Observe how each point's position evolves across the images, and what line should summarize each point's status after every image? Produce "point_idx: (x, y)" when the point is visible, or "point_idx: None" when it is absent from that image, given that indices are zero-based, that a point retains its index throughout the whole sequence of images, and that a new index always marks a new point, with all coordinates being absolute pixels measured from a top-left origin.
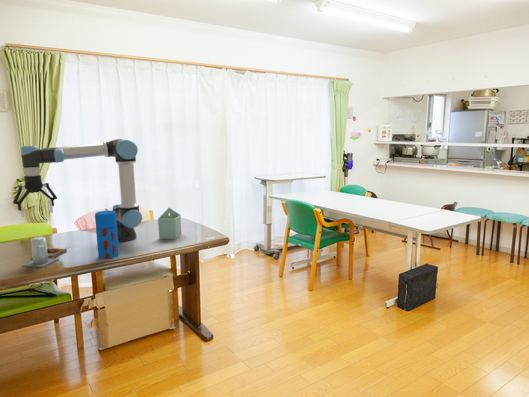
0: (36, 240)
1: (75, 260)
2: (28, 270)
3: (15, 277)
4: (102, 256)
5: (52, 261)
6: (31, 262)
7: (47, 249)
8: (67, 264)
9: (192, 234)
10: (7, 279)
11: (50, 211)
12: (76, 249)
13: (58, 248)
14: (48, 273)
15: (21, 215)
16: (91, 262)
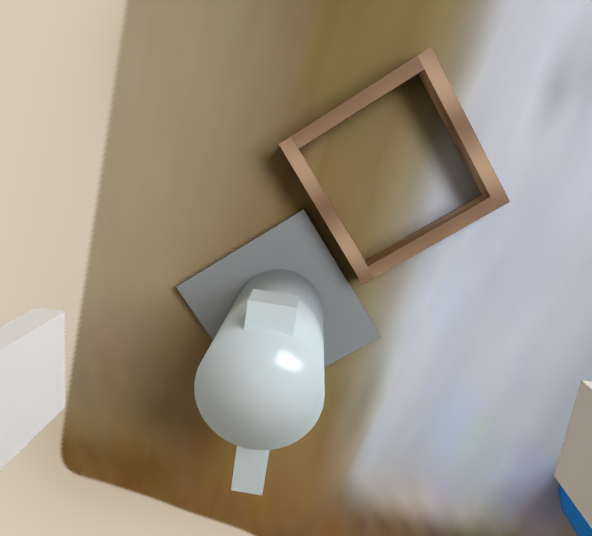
0: (228, 440)
1: (443, 419)
2: (187, 385)
3: (110, 441)
4: (569, 520)
5: (333, 356)
6: (234, 273)
7: (412, 76)
8: (377, 451)
9: None
10: (74, 440)
11: (581, 421)
12: (582, 183)
13: (476, 137)
14: (249, 507)
15: (28, 317)
16: (482, 518)
